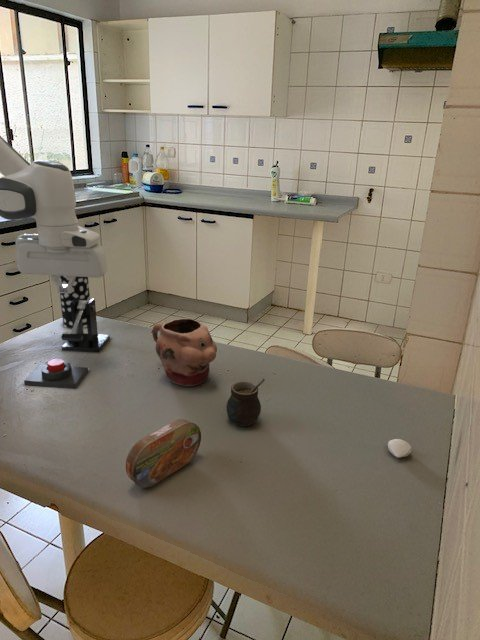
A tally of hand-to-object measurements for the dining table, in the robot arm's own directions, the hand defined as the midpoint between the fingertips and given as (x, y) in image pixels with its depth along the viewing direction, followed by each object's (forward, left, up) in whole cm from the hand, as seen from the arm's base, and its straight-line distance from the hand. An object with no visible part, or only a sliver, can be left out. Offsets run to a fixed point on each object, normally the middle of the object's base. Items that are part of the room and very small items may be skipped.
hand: (65, 292), depth 111 cm
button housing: (0, -9, -18) cm, 21 cm away
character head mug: (+29, -4, -19) cm, 35 cm away
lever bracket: (0, +10, -18) cm, 21 cm away
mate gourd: (+45, -21, -19) cm, 53 cm away
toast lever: (0, +7, -11) cm, 13 cm away
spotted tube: (-8, +24, -19) cm, 31 cm away
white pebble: (+75, -29, -19) cm, 83 cm away
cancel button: (0, -9, -16) cm, 18 cm away
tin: (+32, -38, -19) cm, 53 cm away
